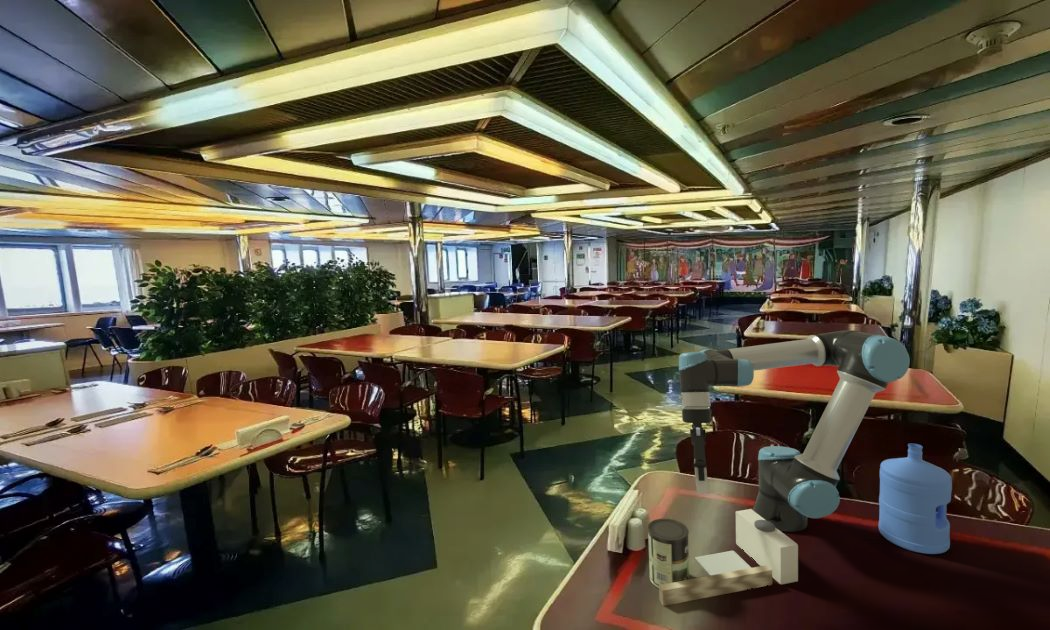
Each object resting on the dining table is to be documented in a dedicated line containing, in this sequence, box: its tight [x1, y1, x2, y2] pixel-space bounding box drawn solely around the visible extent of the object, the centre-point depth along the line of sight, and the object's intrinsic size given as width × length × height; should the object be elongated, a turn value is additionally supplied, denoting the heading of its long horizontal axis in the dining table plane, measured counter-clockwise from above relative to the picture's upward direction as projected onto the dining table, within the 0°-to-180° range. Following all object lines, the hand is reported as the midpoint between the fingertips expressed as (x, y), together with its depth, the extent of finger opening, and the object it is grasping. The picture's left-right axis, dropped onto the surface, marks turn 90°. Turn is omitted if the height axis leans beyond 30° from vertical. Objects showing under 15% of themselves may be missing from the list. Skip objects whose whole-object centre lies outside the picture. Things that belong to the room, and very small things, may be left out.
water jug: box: [878, 442, 953, 555], centre depth 129 cm, size 16×16×28 cm
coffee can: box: [646, 518, 690, 589], centre depth 119 cm, size 10×10×14 cm
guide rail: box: [658, 565, 773, 607], centre depth 114 cm, size 30×2×4 cm, turn 100°
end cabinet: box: [694, 508, 799, 585], centre depth 123 cm, size 20×18×11 cm
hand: (701, 488), depth 122 cm, fingers open, 13 cm apart
